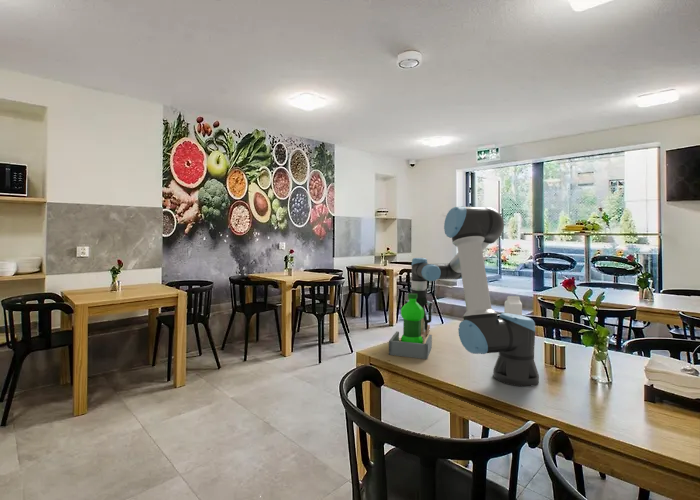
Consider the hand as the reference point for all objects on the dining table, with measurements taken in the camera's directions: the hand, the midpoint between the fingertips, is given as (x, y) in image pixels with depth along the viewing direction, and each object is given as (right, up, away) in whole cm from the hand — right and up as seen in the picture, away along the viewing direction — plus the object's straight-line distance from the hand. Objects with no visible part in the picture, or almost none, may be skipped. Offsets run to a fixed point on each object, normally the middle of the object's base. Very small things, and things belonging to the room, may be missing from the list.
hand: (418, 335), depth 186 cm
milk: (+45, -2, -5) cm, 45 cm away
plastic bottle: (-6, -2, -17) cm, 19 cm away
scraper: (0, 0, 0) cm, 0 cm away
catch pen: (-7, -2, -21) cm, 22 cm away
